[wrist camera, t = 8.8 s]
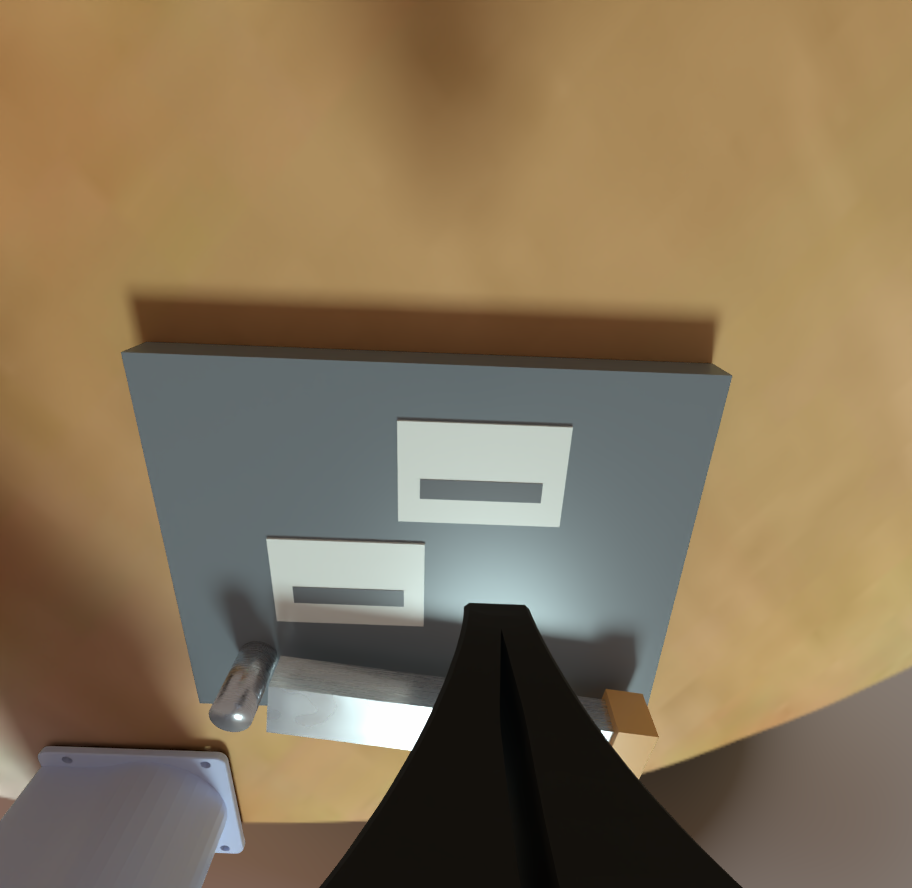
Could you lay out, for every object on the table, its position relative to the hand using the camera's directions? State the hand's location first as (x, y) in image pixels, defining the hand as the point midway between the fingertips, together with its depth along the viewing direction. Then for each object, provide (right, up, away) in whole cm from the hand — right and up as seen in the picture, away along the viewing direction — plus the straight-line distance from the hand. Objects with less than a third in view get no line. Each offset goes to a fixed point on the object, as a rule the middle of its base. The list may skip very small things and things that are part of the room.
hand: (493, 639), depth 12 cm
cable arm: (-1, -6, +11) cm, 12 cm away
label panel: (-2, 0, +10) cm, 10 cm away
